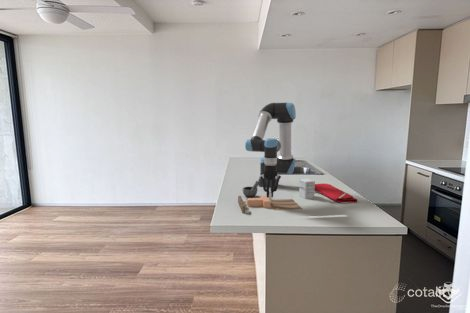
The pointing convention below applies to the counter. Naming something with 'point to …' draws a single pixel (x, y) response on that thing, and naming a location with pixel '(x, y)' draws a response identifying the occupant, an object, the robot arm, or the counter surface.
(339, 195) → the dish drying mat
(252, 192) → the mortar and pestle
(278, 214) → the counter surface
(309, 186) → the supplement box
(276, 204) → the board
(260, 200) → the tee
